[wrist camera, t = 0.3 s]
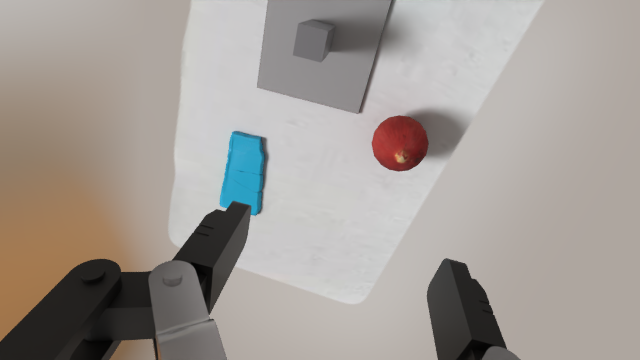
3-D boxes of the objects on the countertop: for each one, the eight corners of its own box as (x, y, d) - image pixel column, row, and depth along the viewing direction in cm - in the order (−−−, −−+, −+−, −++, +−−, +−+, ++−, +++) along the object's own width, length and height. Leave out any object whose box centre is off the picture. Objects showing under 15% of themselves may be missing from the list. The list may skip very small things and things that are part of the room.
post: (311, 19, 34) (298, 23, 28) (335, 25, 34) (328, 31, 28) (306, 46, 35) (292, 55, 29) (329, 52, 35) (321, 62, 29)
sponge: (276, 144, 41) (229, 131, 40) (258, 218, 47) (216, 208, 46) (278, 139, 42) (232, 126, 41) (260, 212, 48) (220, 202, 47)
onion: (433, 124, 37) (448, 152, 31) (403, 162, 40) (410, 196, 33) (390, 98, 37) (395, 120, 30) (362, 139, 39) (360, 168, 33)
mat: (276, -59, 31) (275, -59, 31) (398, -27, 31) (399, -27, 31) (257, 86, 38) (256, 87, 38) (358, 112, 38) (358, 113, 38)
